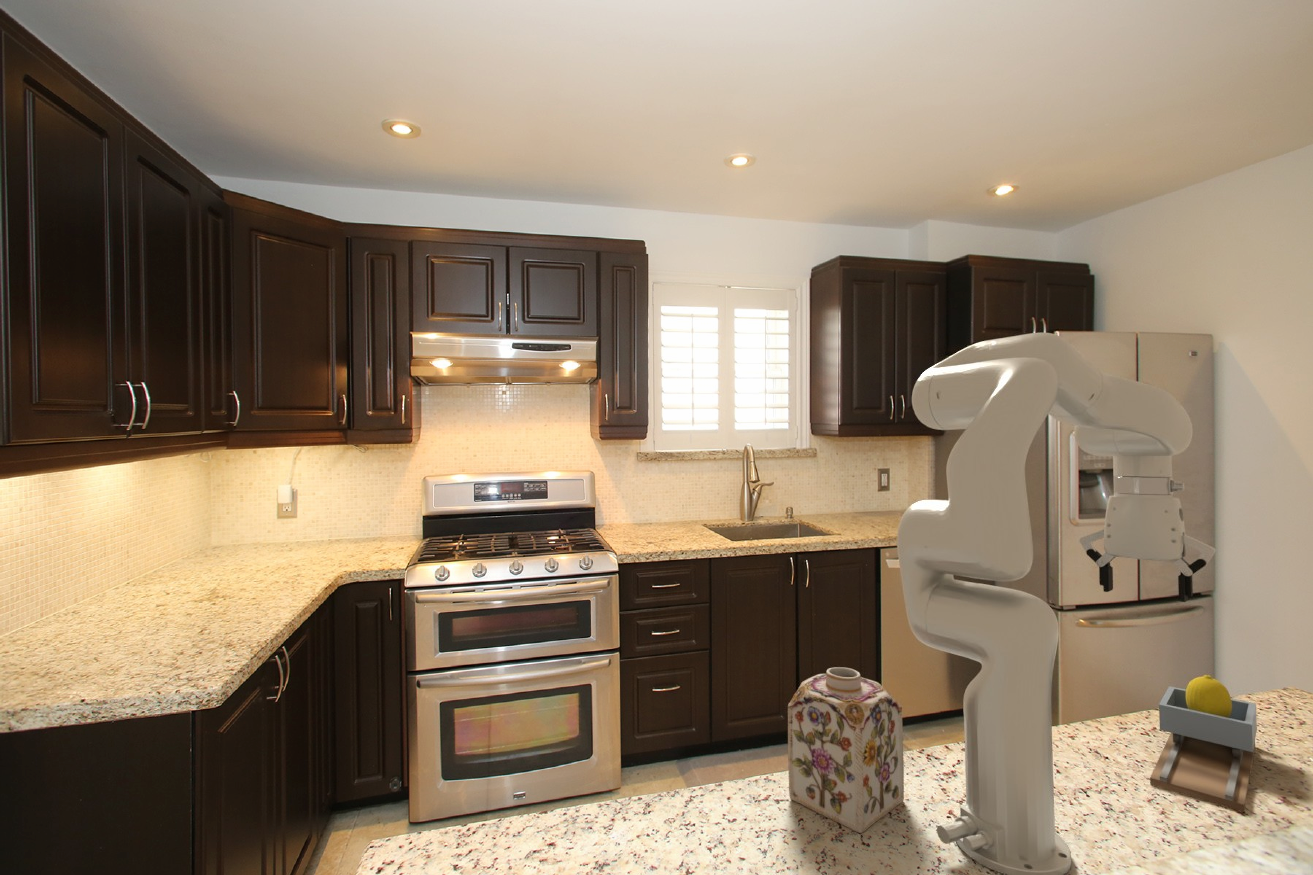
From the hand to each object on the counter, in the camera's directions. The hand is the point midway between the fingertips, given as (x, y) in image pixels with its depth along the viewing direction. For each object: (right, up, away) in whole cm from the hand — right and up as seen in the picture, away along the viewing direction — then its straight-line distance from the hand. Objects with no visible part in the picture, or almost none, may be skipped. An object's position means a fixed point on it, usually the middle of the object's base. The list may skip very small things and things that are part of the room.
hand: (1144, 595), depth 101 cm
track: (+6, -25, -4) cm, 26 cm away
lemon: (+9, -21, -1) cm, 23 cm away
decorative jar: (-51, -26, -13) cm, 59 cm away
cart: (+10, -23, -1) cm, 25 cm away
